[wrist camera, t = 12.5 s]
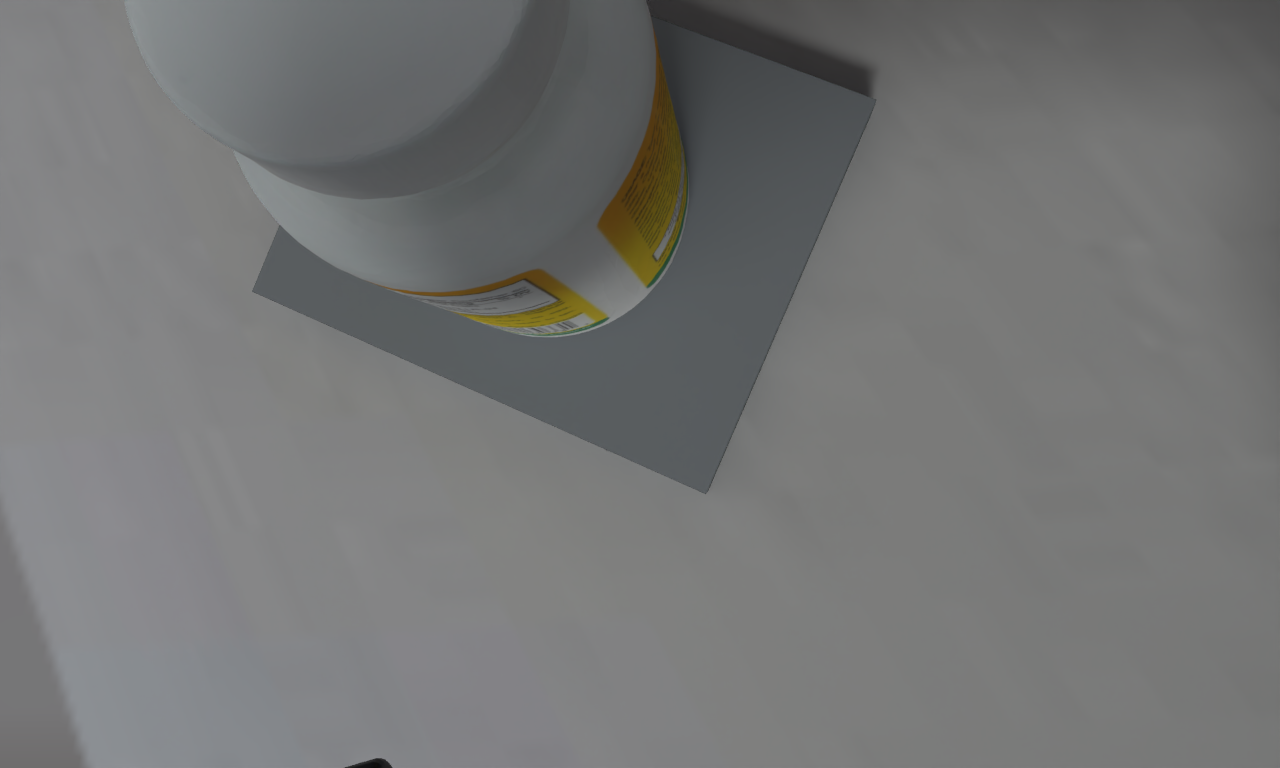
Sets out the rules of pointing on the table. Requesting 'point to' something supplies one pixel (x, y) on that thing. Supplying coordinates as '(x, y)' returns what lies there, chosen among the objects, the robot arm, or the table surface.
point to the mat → (681, 301)
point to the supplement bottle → (446, 142)
